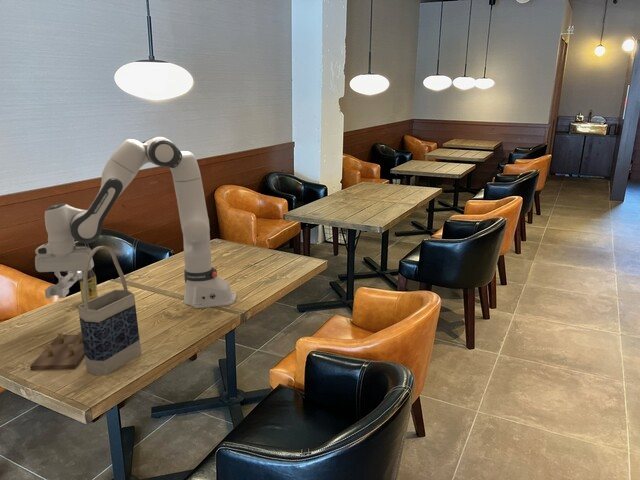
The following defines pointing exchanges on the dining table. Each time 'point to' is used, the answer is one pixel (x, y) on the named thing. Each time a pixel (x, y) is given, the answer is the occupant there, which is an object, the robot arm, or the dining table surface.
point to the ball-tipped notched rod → (62, 286)
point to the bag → (108, 325)
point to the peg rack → (61, 353)
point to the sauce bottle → (90, 286)
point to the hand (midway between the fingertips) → (67, 281)
